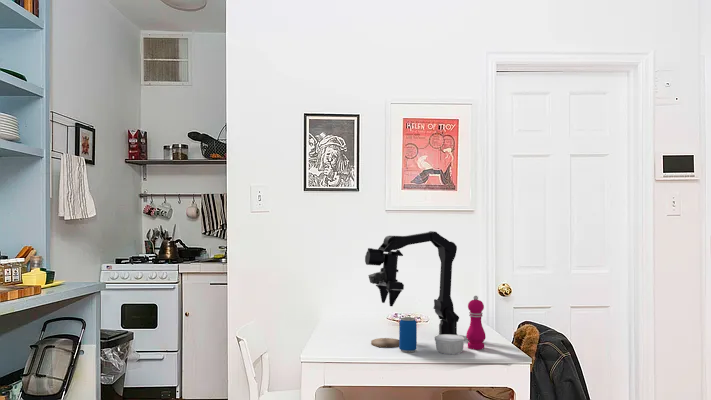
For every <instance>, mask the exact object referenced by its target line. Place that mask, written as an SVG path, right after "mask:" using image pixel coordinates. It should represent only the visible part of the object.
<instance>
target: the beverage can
mask: <svg viewBox="0 0 711 400" xmlns="http://www.w3.org/2000/svg"><path fill="white" fill-rule="evenodd" d="M398 324H399V325H398V326H399V328H398V329H399V331H398V334H399V339H398V340H399V346H398V348H399V350H400V351H401V352H404V353H413V352H415V351H417V346H418V345H417V340H418V339H417V336H418V335H417V330H418V328H417V327H418V326H417V324H418V323H417V320H416V318H415V317H410V316H405V317H401V318H400V320H399V322H398Z"/></svg>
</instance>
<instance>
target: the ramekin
mask: <svg viewBox="0 0 711 400" xmlns="http://www.w3.org/2000/svg"><path fill="white" fill-rule="evenodd" d="M465 339H466V338H465V337H464V336H462V335H459V334H457V335H450V334H443V335H440V334H438V335H437V334H436V335H435V336H434V341H435V342H434V343H435V347H436V351H437V352H438V353H441V354H444V355H459V354H461V353H462V352H463V351H464V343H465Z"/></svg>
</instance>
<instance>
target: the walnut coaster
mask: <svg viewBox="0 0 711 400" xmlns="http://www.w3.org/2000/svg"><path fill="white" fill-rule="evenodd" d="M370 342H371V343H370V344H371V346H374V347H376V348H399V339H397V338H392V337H391V338H390V337H380V338H374V339H372V340H371V341H370Z"/></svg>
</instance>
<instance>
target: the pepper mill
mask: <svg viewBox="0 0 711 400" xmlns="http://www.w3.org/2000/svg"><path fill="white" fill-rule="evenodd" d="M467 308H468V310H469V317H470V323H469V327H468V329H467V330H466V338H465V339H467V340H468V342H467V348H468V349H469V350H470V349H471V350H476V351H478V350H479V351H480V350H485V343H484V341H485V340H486V332H485V329H484V327H483V324H482V317H483V310H484V309H485V306H484V303H483V301H481V300H480V299H479V296H478V295H474V296H473V299H472V300H470V301H469V302H468V304H467Z"/></svg>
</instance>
